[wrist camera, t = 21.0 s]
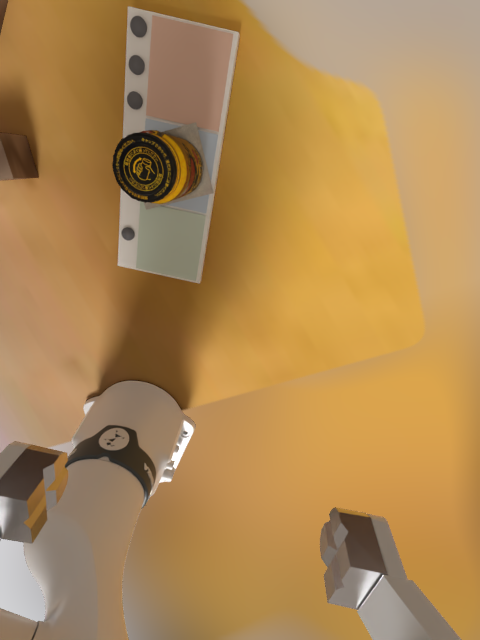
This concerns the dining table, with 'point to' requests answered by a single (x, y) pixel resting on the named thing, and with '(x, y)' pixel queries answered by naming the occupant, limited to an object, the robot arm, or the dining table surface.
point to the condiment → (162, 166)
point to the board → (168, 113)
